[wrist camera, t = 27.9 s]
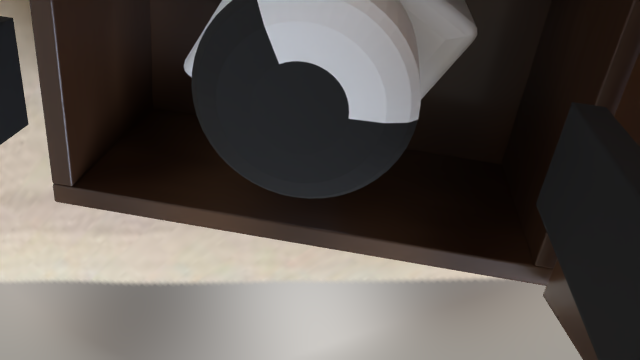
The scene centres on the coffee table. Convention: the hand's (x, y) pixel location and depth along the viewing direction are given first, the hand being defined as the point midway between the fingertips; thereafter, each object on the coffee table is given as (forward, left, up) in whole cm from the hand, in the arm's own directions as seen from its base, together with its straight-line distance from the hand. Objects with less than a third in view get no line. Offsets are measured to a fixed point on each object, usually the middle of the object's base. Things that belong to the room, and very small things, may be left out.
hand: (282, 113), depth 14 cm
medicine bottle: (0, 0, -13) cm, 13 cm away
